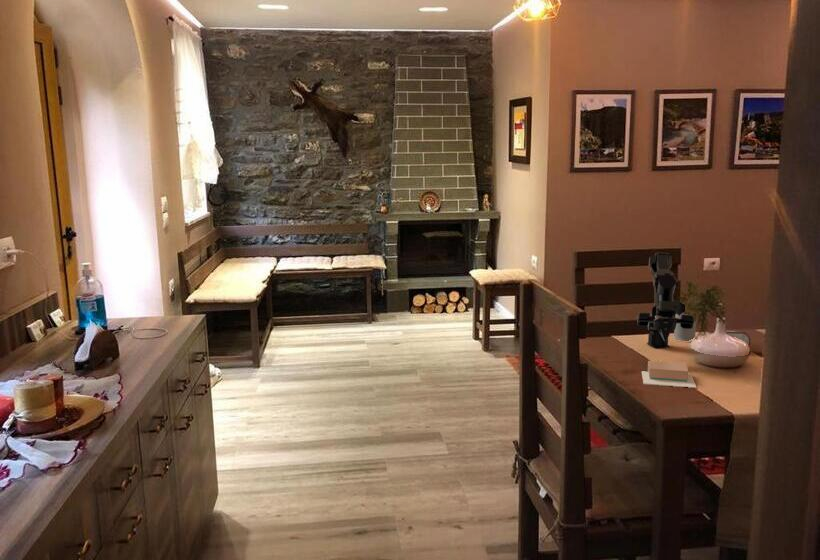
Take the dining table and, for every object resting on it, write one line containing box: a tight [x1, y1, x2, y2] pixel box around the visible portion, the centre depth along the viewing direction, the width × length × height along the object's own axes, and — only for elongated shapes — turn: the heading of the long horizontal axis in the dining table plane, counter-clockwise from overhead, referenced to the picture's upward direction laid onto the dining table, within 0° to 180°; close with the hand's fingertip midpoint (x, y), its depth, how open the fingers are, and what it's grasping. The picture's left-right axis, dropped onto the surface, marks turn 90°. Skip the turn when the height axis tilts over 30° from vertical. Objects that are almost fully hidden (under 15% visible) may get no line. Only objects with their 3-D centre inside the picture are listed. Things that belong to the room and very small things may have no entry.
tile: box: [647, 360, 689, 381], centre depth 224 cm, size 4×12×9 cm
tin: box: [711, 329, 752, 347], centre depth 252 cm, size 15×3×8 cm, turn 84°
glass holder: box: [672, 303, 697, 342], centre depth 272 cm, size 9×14×15 cm, turn 177°
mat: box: [641, 370, 697, 389], centre depth 221 cm, size 13×16×1 cm
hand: (665, 341), depth 234 cm, fingers closed
